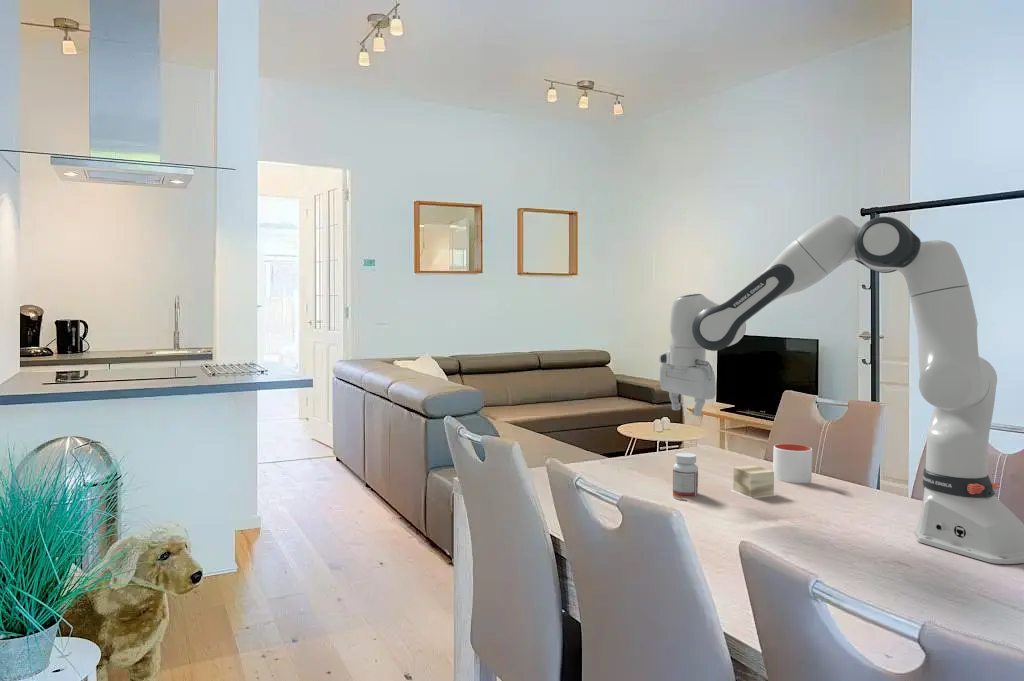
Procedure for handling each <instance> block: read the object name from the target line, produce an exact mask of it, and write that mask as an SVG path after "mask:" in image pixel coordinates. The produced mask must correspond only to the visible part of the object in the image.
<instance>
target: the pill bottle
mask: <svg viewBox="0 0 1024 681" xmlns="http://www.w3.org/2000/svg"><path fill="white" fill-rule="evenodd" d="M674 460H675V462H676V463H675V464H673V468H672V471H673V472H672V477H673V478H672V497H673V498H674V499H675V500H677V501H680V502H689V500H688V499H685V498H688V497H689V498H693V497H696V496H698V493H699V492H698V490H699V488H698V485H699V467H698V466H697V464H696V463H697V455H696V454H695V453H691V452H677V453H675V459H674ZM683 497H685V498H683Z"/></svg>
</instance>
